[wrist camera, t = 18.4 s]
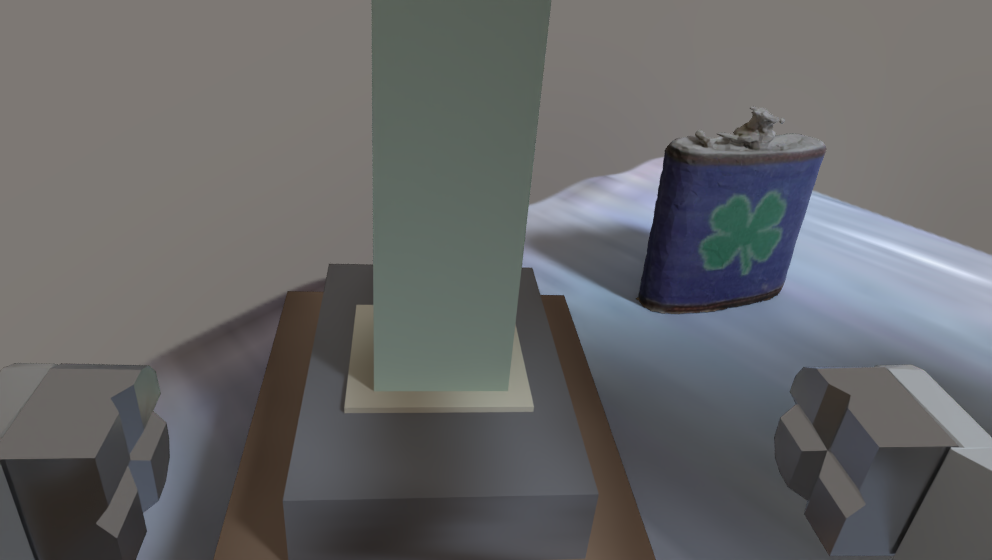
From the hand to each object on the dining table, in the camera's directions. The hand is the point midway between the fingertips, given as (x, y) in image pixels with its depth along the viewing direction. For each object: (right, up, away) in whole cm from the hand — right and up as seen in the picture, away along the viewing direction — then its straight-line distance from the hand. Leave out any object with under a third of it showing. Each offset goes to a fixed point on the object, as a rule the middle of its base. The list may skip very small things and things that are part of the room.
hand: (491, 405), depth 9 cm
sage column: (-2, -1, +14) cm, 14 cm away
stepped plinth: (-2, -6, +17) cm, 18 cm away
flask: (+12, +1, +31) cm, 34 cm away
